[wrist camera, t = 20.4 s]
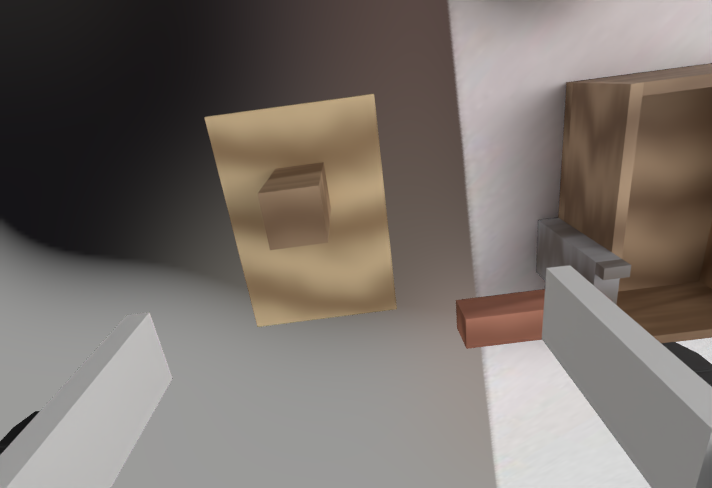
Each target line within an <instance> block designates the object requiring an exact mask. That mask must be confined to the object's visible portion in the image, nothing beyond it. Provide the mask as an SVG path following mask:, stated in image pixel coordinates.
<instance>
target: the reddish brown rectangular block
mask: <svg viewBox="0 0 712 488" xmlns="http://www.w3.org/2000/svg"><path fill="white" fill-rule="evenodd" d="M599 291H600V290H599ZM605 296H606V295H605ZM606 297H607V296H606ZM544 298H545V289H542V290H534V291H526V292H518V293H510V294H502V295H494V296H486V297H478V298H470V299H462V300H456V313H457V329H458V331H459V333H460V335H461V337H462V340H463V342H464V344H465V346H466V348H467V349H468V348H475V347H484V346H492V345H500V344H509V343H517V342H525V341H533V340H541V339H542V327H543V312H544ZM611 301H612V300H611Z"/></svg>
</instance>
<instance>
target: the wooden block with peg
mask: <svg viewBox="0 0 712 488" xmlns="http://www.w3.org/2000/svg"><path fill="white" fill-rule="evenodd" d="M205 121H206V126H207V130H208V133H209V137H210V141H211V145H212V149H213V153H214V157H215V161H216V165H217V169H218V173H219V177H220V181H221V185H222V189H223V193H224V197H225V201H226V204H227V208H228V212H229V216H230V220H231V224H232V228H233V232H234V236H235V240H236V244H237V247H238V252H239V255H240V260H241V264H242V267H243V272H244V275H245V279H246V283H247V287H248V291H249V295H250V299H251V303H252V307H253V311H254V315H255V319H256V322H257V326H258V327H261V326H269V325H277V324H285V323H292V322H300V321H308V320H315V319H324V318H331V317H339V316H346V315H355V314H363V313H370V312H378V311H385V310H394V309H397V306H396V297H395V288H394V278H393V269H392V259H391V250H390V242H389V241H390V240H389V231H388V221H387V213H386V203H385V193H384V184H383V174H382V165H381V156H380V146H379V137H378V127H377V118H376V108H375V99H374V94H367V95H359V96H352V97H345V98H338V99H331V100H323V101H315V102H308V103H302V104H294V105H286V106H279V107H272V108H265V109H258V110H251V111H243V112H236V113H228V114H222V115H214V116H208V117H205Z"/></svg>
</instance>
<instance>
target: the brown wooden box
mask: <svg viewBox="0 0 712 488" xmlns="http://www.w3.org/2000/svg"><path fill="white" fill-rule="evenodd" d="M569 265H570V266H571V267H573V268H574V269H575V270H576V271H577V272H578V273H580V274H581V275H582V276H583V277H584V278H585V279H587V280H588V281H589V282H590V283H591V284H592V285H594V286H595V287H596V288H597V289H598V290H600V291H601V292H602V293H603V294H604V295H606V296H607V297H608V298H609V299H610V300H612V302H613V303H615V304H616V305H617V306H618V307H619V308H620V309H622V310H623V311H624V312H625V313H626V314H627V315H629V316H630V317H631V318H632V319H633V320H634V321H636V322H637V323H638V324H639V325H640V326H641V327H643V328H644V329H645V330H646V331H647V332H648V333H650V334H651V335H652V336H653V337H654V338H655V339H656V340H658V341H659V342H660V343H668V342H678V341H686V340H694V339H702V338H711V337H712V63H710V64H703V65H695V66H687V67H680V68H672V69H665V70H657V71H650V72H642V73H634V74H627V75H619V76H612V77H604V78H596V79H589V80H581V81H574V82H567V84H566V100H565V117H564V133H563V149H562V166H561V182H560V199H559V215H558V218H551V219H543V220H538V240H537V263H536V272H537V273H538V274H539V275H540V276H541V277H542V278H543V279H544V280H545V281H546V268H551V267H560V266H569Z"/></svg>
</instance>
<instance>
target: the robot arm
mask: <svg viewBox="0 0 712 488" xmlns="http://www.w3.org/2000/svg"><path fill="white" fill-rule="evenodd" d="M542 340H543V341H544V342H545V344H546V345H547V346H548V348H549V349H550V351H551V352H552V353H553V355H554V356H555V357H556V359H557V360H558V361H559V363H560V364H561V365H562V367H563V368H564V369H565V371H566V372H567V374H568V375H569V376H570V378H571V379H572V380H573V382H574V383H575V384H576V386H577V387H578V388H579V390H580V391H581V393H582V394H583V395H584V397H585V398H586V399H587V401H588V402H589V403H590V405H591V406H592V407H593V409H594V410H595V412H596V413H597V414H598V416H599V417H600V418H601V420H602V421H603V422H604V424H605V425H606V426H607V428H608V429H609V431H610V432H611V433H612V435H613V436H614V437H615V439H616V440H617V441H618V443H619V444H620V445H621V447H622V448H623V450H624V451H625V452H626V454H627V455H628V456H629V458H630V459H631V460H632V462H633V463H634V464H635V466H636V467H637V468H638V470H639V471H640V473H641V474H642V475H643V477H644V478H645V479H646V481H647V482H648V483H649V485H650V486H651V487H652V488H712V364H711V363H709V362H708V361H707V360H706V359H704V358H703V357H702V356H701V355H699V354H698V353H696V352H694V351H692V350H690V349H688V348H686V347H684V346H682V345H680V344H678V343H676V342H668V343H660V342H659V341H658V340H656V339H655V338H654V337H653V336H652V335H651V334H650V333H648V332H647V331H646V330H645V329H644V328H643V327H641V326H640V325H639V324H638V323H637V322H636V321H634V320H633V319H632V318H631V317H630V316H629V315H627V314H626V313H625V312H624V311H623V310H622V309H620V308H619V307H618V306H617V305H616V304H615V303H613V302H612V301H611V300H610V299H609V298H608V297H606V296H605V295H604V294H603V293H602V292H601V291H599V290H598V289H597V288H596V287H595V286H594V285H592V284H591V283H590V282H589V281H588V280H587V279H585V278H584V277H583V276H582V275H581V274H580V273H578V272H577V271H576V270H575V269H574V268H573V267H571V266H570V265H569V266H560V267H551V268H546V283H545V298H544V312H543V327H542ZM172 379H173V378H172V375H171V372H170V369H169V367H168V364H167V361H166V358H165V355H164V352H163V349H162V347H161V344H160V341H159V338H158V336H157V332H156V329H155V327H154V324H153V321H152V318H151V316H150V313H149V312H148V313H138V314H129V315H126V316H125V317H124V318H123V319H122V321H121V322H120V323H119V324H118V325H117V326H116V327H115V329H113V331H112V332H111V333H110V334H109V335H108V336H107V337H106V338H105V340H104V341H103V342H102V343H101V344H100V345H99V346H98V347H97V348H96V350H95V351H94V352H93V353H92V354H91V355H90V356H89V357H88V359H86V361H85V362H84V363H83V364H82V365H81V366H80V367H79V368H78V369H77V371H76V372H75V373H74V374H73V375H72V376H71V377H70V378H69V379H68V381H67V382H66V383H65V384H64V385H63V386H62V387H61V388H60V389H59V391H58V392H57V393H56V394H55V395H54V396H53V397H52V398H51V399H50V401H49V402H48V403H47V404H46V405H45V406H44V407H43V409H41V411H35V412H34V413H32V414H31V415H30V416H29V417H27V418H26V419H24V420H23V421H22V422H20V423H19V424H17V425H16V426H15V427H13V428H12V429H11V431H10V432H9V433H8V434H7V435H6V436H5V437H4V438H3V439H2V440H1V441H0V488H111V487H112V485H113V483H114V481H115V480H116V478H117V476H118V474H119V473H120V471H121V469H122V467H123V466H124V464H125V462H126V460H127V458H128V457H129V455H130V453H131V451H132V450H133V448H134V446H135V444H136V443H137V441H138V439H139V437H140V435H141V434H142V432H143V430H144V428H145V427H146V425H147V423H148V421H149V419H150V418H151V416H152V414H153V412H154V411H155V409H156V407H157V405H158V404H159V402H160V400H161V398H162V396H163V394H164V393H165V391H166V389H167V388H168V386H169V384H170V382H171V380H172Z"/></svg>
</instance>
